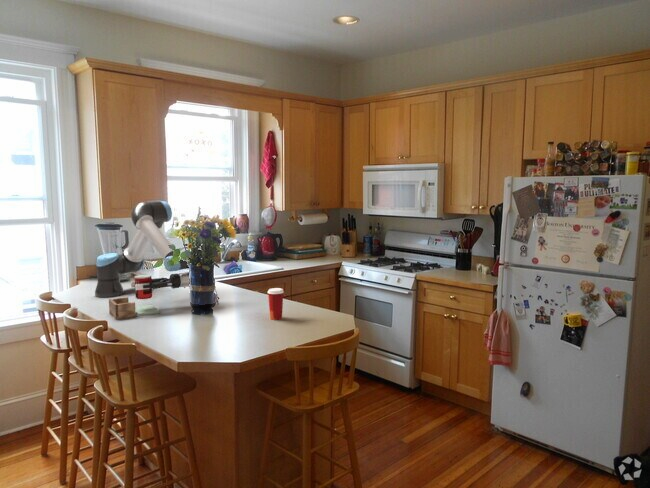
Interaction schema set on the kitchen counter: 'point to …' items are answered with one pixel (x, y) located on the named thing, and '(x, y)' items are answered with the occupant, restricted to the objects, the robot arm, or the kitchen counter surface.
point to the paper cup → (275, 303)
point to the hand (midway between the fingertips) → (133, 286)
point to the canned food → (145, 292)
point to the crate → (129, 309)
